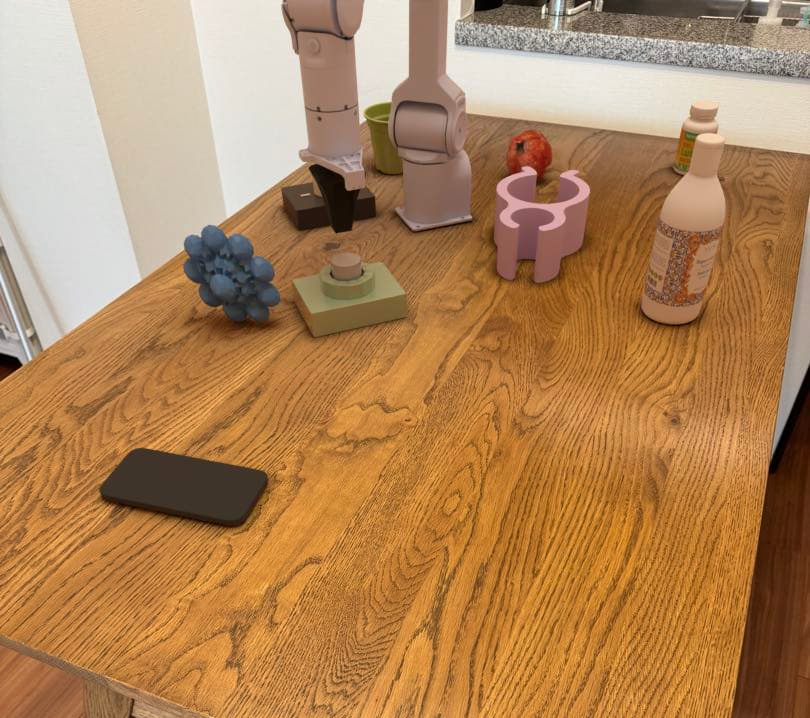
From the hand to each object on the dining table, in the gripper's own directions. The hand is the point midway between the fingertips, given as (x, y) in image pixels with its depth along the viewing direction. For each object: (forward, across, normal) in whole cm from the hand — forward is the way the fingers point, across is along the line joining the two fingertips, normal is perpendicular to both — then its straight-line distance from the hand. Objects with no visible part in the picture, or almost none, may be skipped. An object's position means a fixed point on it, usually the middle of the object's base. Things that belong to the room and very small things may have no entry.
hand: (342, 229), depth 92 cm
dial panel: (+10, -27, +6) cm, 30 cm away
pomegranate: (+10, -26, +39) cm, 48 cm away
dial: (+6, -27, +6) cm, 29 cm away
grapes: (+10, 0, -14) cm, 17 cm away
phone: (+10, +28, -25) cm, 39 cm away
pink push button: (+5, +2, 0) cm, 5 cm away
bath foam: (+10, +18, +36) cm, 41 cm away
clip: (+10, -4, +29) cm, 31 cm away
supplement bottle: (+10, -18, +64) cm, 67 cm away
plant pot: (+10, -39, +21) cm, 45 cm away
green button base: (+10, +2, 0) cm, 10 cm away
